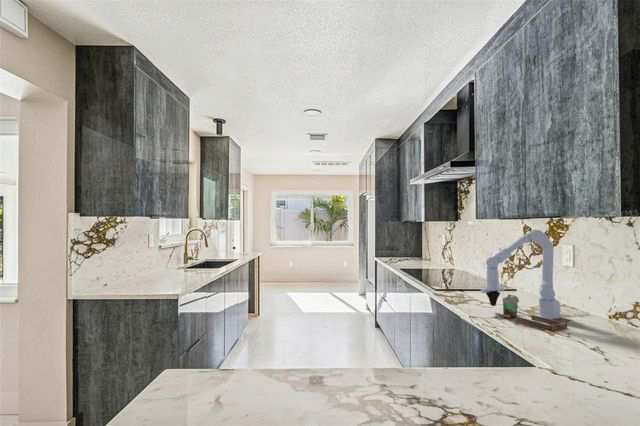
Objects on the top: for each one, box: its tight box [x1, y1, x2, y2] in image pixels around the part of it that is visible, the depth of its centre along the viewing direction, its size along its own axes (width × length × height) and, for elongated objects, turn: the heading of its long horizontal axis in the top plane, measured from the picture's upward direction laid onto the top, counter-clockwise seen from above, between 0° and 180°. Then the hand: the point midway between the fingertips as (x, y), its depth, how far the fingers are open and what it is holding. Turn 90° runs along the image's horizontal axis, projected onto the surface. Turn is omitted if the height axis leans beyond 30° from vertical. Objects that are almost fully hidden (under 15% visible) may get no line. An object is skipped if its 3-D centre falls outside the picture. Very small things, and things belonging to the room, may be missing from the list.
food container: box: [502, 294, 520, 320], centre depth 190 cm, size 12×6×10 cm, turn 143°
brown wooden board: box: [516, 314, 568, 331], centre depth 176 cm, size 11×17×2 cm, turn 23°
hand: (493, 305), depth 201 cm, fingers closed
